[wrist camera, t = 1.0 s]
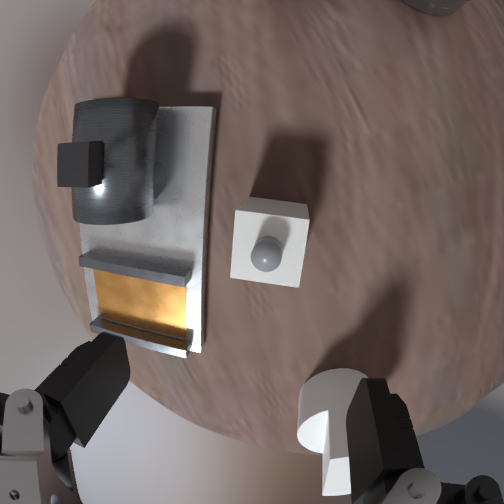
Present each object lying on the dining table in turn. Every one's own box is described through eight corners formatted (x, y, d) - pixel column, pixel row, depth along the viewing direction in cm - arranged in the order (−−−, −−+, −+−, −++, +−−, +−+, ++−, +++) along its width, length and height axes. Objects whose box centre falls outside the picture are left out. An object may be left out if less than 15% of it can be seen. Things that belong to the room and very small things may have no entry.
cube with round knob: (249, 196, 26) (230, 214, 19) (307, 204, 25) (310, 225, 18) (244, 250, 27) (225, 286, 20) (298, 258, 27) (298, 297, 20)
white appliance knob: (298, 369, 31) (293, 459, 20) (378, 365, 30) (399, 450, 18) (299, 418, 34) (293, 497, 23) (367, 414, 32) (377, 491, 21)
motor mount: (89, 114, 25) (17, 112, 16) (217, 108, 23) (169, 87, 14) (99, 318, 33) (51, 364, 24) (204, 344, 32) (173, 410, 22)
